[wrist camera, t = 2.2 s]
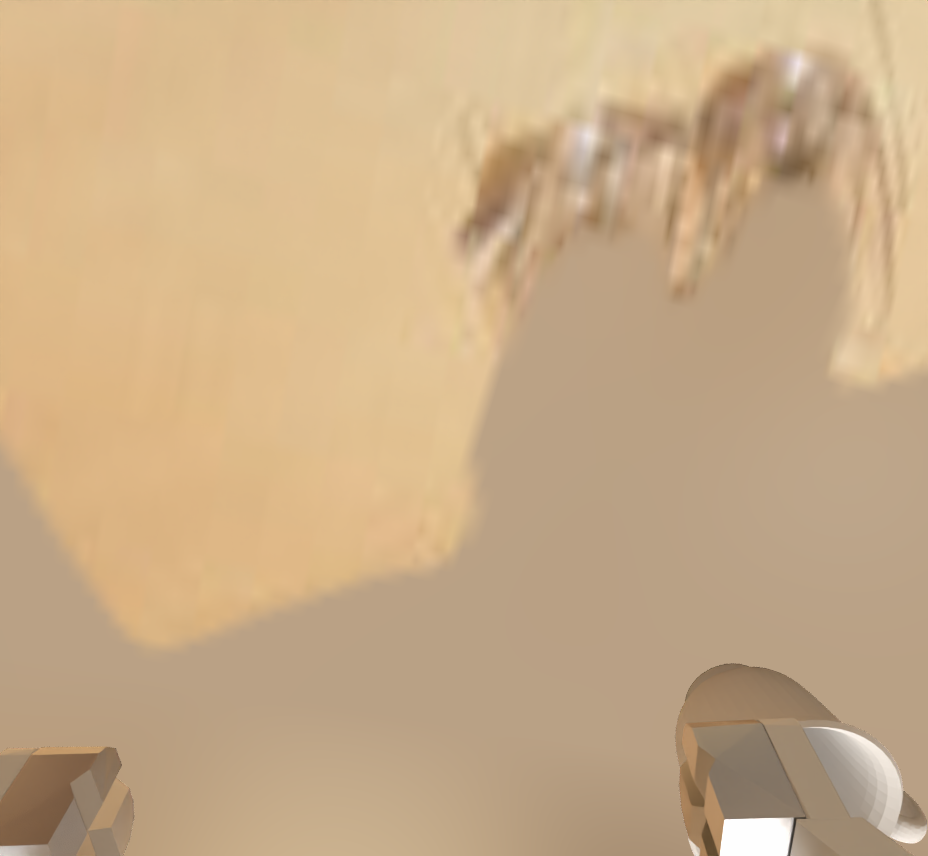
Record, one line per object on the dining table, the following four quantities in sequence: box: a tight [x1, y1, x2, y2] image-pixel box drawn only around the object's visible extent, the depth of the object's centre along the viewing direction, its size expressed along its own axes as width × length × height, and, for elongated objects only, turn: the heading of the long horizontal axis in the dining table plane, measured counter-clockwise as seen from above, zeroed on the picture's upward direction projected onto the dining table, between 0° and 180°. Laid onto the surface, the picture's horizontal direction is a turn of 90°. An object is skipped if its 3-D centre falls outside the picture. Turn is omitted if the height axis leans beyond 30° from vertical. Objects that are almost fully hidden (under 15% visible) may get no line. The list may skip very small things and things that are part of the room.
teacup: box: [675, 664, 927, 856], centre depth 46 cm, size 12×15×10 cm
